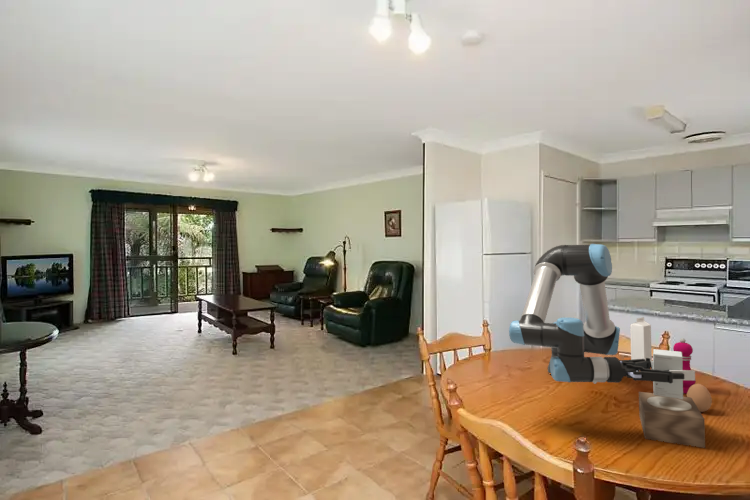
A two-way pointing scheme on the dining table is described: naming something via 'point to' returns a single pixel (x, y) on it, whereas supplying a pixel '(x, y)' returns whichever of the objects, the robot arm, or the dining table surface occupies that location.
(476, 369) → the dining table surface
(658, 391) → the supplement box
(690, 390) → the egg
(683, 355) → the pepper mill
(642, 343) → the milk
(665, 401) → the walnut riser
